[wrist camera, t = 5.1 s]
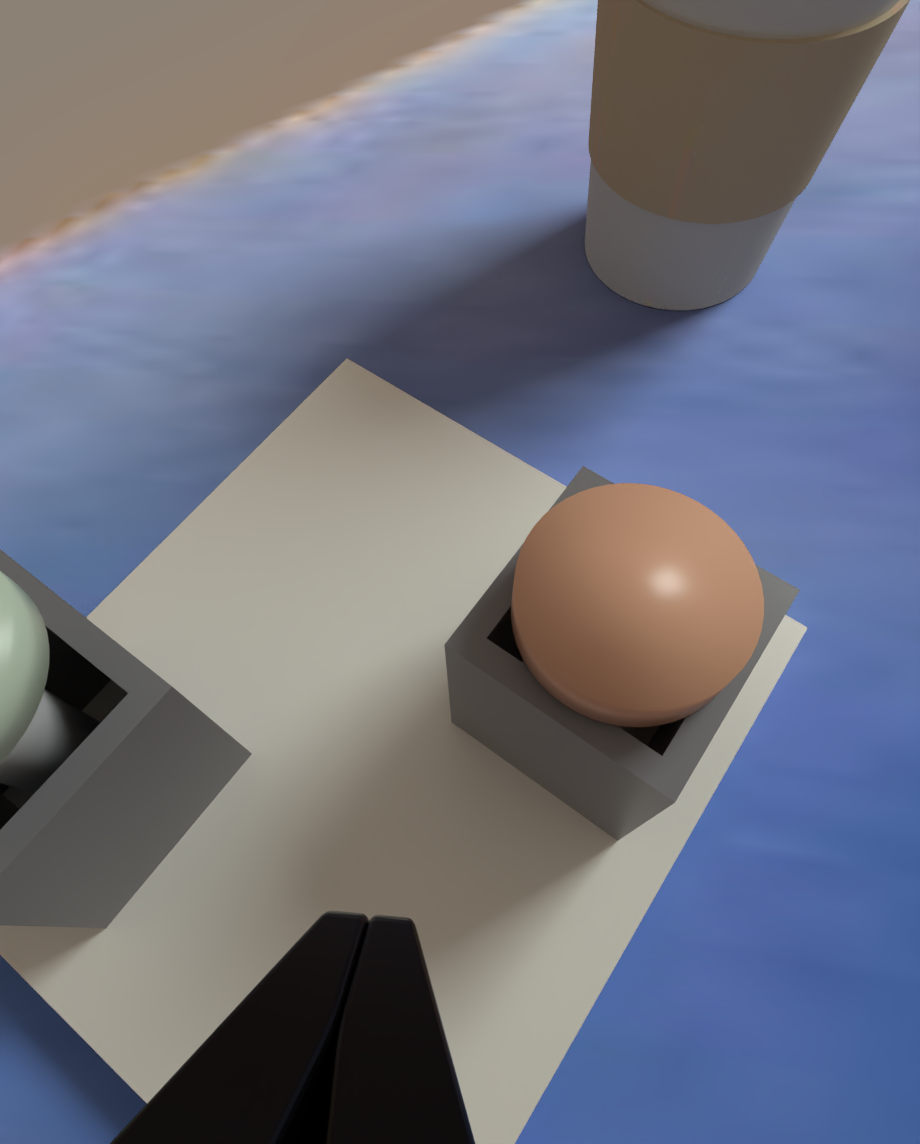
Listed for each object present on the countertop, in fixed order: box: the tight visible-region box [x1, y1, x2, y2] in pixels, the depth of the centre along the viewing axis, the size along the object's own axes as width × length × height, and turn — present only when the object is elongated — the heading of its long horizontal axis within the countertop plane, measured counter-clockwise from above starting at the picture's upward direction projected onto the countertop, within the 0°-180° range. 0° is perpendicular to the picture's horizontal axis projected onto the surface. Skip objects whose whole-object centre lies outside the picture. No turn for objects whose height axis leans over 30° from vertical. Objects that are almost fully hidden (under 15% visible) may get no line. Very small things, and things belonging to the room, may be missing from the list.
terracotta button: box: [511, 483, 764, 727], centre depth 17 cm, size 5×5×7 cm
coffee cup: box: [585, 0, 910, 310], centre depth 23 cm, size 9×9×15 cm
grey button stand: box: [0, 359, 807, 1144], centre depth 18 cm, size 19×17×7 cm
